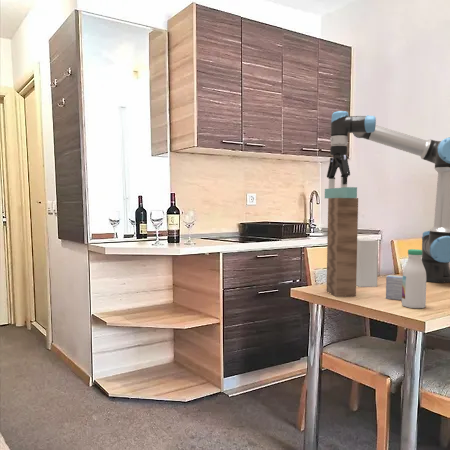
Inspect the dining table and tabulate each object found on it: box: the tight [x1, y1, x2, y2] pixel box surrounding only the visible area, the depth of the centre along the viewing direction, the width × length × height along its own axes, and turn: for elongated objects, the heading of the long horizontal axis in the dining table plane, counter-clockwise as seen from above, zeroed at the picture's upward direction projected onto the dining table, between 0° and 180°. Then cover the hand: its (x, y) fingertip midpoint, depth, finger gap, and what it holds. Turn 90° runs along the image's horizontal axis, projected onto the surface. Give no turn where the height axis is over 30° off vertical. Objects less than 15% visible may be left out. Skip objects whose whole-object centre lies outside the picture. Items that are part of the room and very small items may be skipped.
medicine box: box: [385, 274, 403, 301], centre depth 164 cm, size 8×4×9 cm, turn 58°
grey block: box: [356, 238, 379, 288], centre depth 192 cm, size 10×8×20 cm
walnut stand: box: [326, 197, 359, 298], centre depth 171 cm, size 10×8×38 cm
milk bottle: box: [401, 248, 427, 309], centre depth 152 cm, size 8×8×20 cm
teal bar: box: [324, 186, 358, 199], centre depth 173 cm, size 22×4×4 cm, turn 9°
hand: (337, 192), depth 201 cm, fingers open, 13 cm apart
